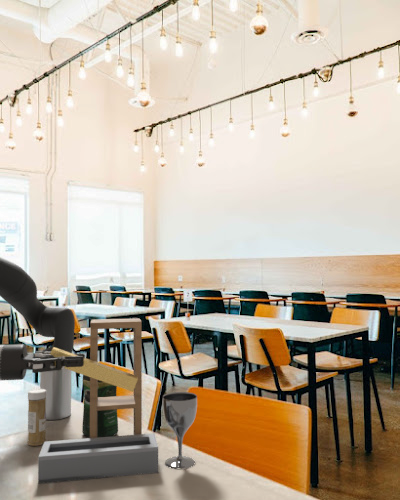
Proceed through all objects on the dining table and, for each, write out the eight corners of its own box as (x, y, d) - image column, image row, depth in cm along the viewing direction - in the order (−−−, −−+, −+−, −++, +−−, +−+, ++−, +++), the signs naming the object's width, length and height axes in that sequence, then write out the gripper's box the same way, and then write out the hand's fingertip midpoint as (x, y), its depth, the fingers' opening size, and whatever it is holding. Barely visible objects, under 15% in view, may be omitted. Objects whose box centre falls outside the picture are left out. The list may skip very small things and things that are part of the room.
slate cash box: (44, 466, 102) (44, 441, 102) (154, 456, 107) (154, 433, 107) (38, 483, 93) (38, 456, 94) (158, 472, 98) (158, 446, 98)
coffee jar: (123, 434, 122) (123, 365, 123) (99, 442, 116) (99, 370, 117) (101, 426, 128) (101, 361, 129) (77, 434, 122) (77, 365, 123)
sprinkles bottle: (48, 444, 116) (48, 390, 116) (29, 447, 113) (30, 393, 114) (43, 438, 119) (44, 387, 120) (25, 442, 117) (26, 389, 118)
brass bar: (48, 359, 101) (53, 347, 101) (132, 388, 104) (137, 376, 104) (46, 362, 98) (52, 349, 98) (133, 391, 101) (138, 378, 101)
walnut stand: (91, 448, 112) (91, 319, 114) (139, 444, 114) (139, 318, 116) (89, 461, 104) (90, 322, 106) (141, 457, 107) (141, 321, 108)
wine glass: (184, 472, 98) (184, 402, 99) (155, 465, 102) (155, 397, 103) (203, 460, 105) (203, 394, 105) (176, 453, 109) (175, 390, 110)
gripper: (-6, 349, 91) (82, 347, 94) (9, 340, 104) (86, 339, 108) (-7, 387, 90) (81, 383, 93) (8, 373, 104) (85, 370, 107)
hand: (83, 359), depth 101 cm, fingers closed on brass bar, 3 cm apart
